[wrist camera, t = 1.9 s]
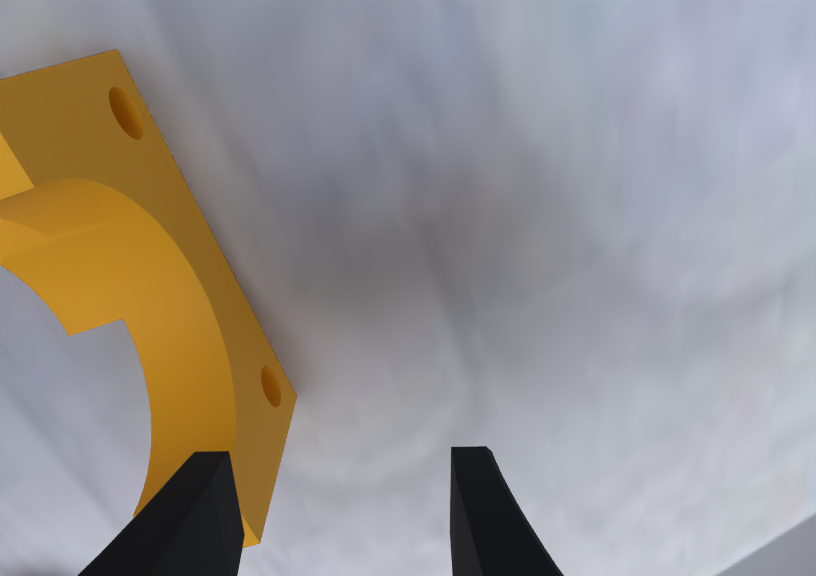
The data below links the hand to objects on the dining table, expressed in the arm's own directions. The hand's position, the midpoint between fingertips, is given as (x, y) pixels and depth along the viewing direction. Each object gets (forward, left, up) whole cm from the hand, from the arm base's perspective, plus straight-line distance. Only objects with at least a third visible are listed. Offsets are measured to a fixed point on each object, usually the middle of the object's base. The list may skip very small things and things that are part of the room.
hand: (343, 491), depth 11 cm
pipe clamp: (-7, 0, -10) cm, 12 cm away
